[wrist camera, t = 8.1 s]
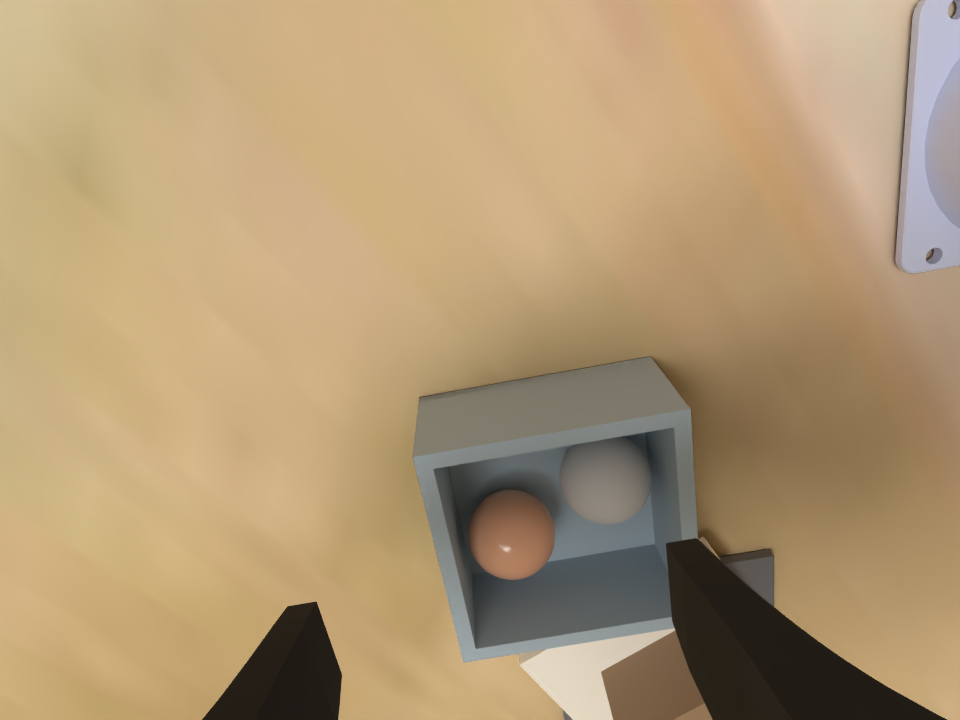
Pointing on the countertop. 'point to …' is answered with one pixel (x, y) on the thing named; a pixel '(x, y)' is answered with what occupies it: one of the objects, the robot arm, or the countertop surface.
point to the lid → (620, 677)
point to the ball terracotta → (511, 534)
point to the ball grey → (606, 480)
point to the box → (557, 504)
